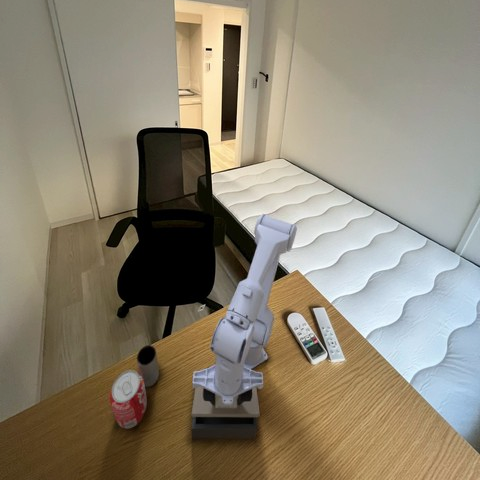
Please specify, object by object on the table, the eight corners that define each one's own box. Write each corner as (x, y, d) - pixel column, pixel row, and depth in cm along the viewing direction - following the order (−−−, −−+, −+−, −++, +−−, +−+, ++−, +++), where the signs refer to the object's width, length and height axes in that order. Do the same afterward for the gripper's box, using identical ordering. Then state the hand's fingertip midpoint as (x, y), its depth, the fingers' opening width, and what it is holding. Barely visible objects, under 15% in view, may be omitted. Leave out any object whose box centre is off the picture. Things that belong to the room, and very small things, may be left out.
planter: (137, 376, 65) (133, 354, 61) (153, 362, 68) (150, 340, 64) (146, 391, 62) (142, 370, 58) (162, 376, 65) (159, 354, 61)
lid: (259, 417, 52) (260, 396, 52) (191, 417, 52) (192, 395, 52) (254, 374, 63) (255, 356, 63) (197, 373, 62) (198, 355, 62)
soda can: (140, 384, 64) (135, 359, 58) (153, 411, 59) (148, 386, 54) (111, 409, 59) (103, 384, 54) (123, 440, 54) (115, 416, 49)
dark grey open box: (255, 439, 56) (257, 429, 54) (191, 438, 55) (191, 428, 53) (252, 384, 65) (254, 373, 63) (197, 383, 65) (197, 372, 62)
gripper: (189, 391, 45) (190, 424, 50) (267, 392, 45) (259, 424, 51) (195, 348, 51) (195, 381, 57) (263, 349, 52) (257, 382, 57)
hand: (226, 399), depth 54 cm, fingers closed on lid, 5 cm apart
